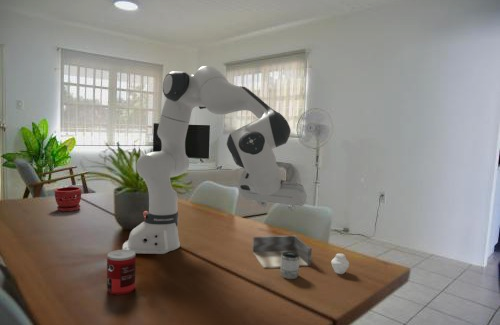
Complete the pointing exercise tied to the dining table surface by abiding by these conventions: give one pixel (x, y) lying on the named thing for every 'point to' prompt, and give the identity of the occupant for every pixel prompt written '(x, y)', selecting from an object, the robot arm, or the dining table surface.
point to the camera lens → (289, 265)
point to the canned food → (121, 271)
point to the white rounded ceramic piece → (340, 263)
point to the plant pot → (68, 198)
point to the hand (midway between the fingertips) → (277, 207)
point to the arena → (280, 250)
